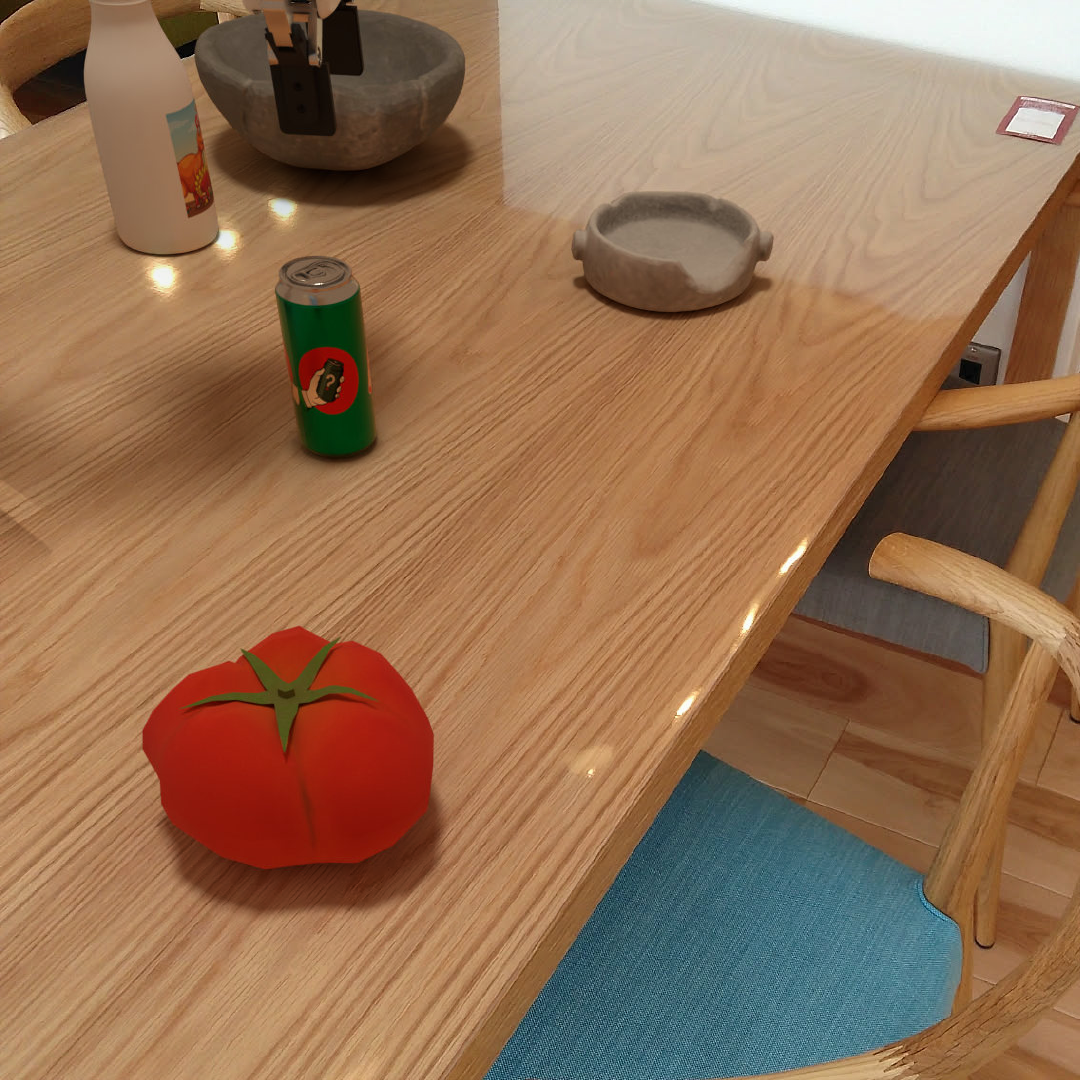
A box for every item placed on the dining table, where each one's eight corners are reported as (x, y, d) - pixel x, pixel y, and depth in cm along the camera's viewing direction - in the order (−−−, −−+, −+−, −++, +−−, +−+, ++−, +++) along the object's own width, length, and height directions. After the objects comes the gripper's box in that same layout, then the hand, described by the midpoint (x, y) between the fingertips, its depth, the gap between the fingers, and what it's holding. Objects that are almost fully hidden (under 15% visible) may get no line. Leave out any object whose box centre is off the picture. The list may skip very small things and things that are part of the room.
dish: (784, 277, 114) (791, 218, 111) (690, 339, 105) (694, 278, 102) (643, 225, 119) (645, 168, 116) (542, 280, 111) (540, 220, 107)
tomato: (483, 741, 73) (474, 611, 67) (408, 927, 64) (390, 797, 58) (230, 700, 74) (198, 569, 67) (121, 879, 64) (73, 746, 58)
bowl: (520, 147, 129) (517, 34, 122) (369, 232, 114) (355, 108, 107) (323, 90, 136) (309, -21, 129) (156, 163, 121) (130, 42, 114)
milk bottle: (167, 266, 107) (106, -13, 94) (98, 237, 110) (28, -39, 96) (241, 233, 112) (193, -37, 99) (173, 206, 115) (117, -60, 101)
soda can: (393, 441, 92) (375, 272, 84) (333, 471, 89) (308, 299, 81) (344, 412, 94) (321, 244, 86) (283, 440, 91) (254, 269, 83)
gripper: (242, -270, 78) (290, 49, 90) (160, -205, 66) (229, 156, 78) (376, -261, 78) (407, 56, 90) (320, -194, 66) (364, 163, 78)
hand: (324, 102), depth 84 cm, fingers open, 9 cm apart
